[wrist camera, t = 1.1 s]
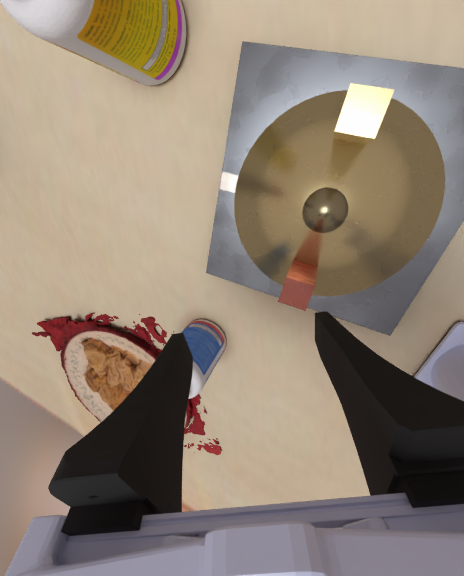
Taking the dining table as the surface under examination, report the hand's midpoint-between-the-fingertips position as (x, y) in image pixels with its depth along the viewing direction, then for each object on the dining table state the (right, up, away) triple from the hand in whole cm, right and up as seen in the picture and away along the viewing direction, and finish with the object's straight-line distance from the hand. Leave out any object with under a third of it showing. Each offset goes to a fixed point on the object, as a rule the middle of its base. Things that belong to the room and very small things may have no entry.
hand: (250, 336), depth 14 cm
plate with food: (-17, -12, +27) cm, 34 cm away
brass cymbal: (+6, +9, +6) cm, 12 cm away
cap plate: (+7, +9, +7) cm, 13 cm away
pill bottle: (-4, -3, +17) cm, 18 cm away
